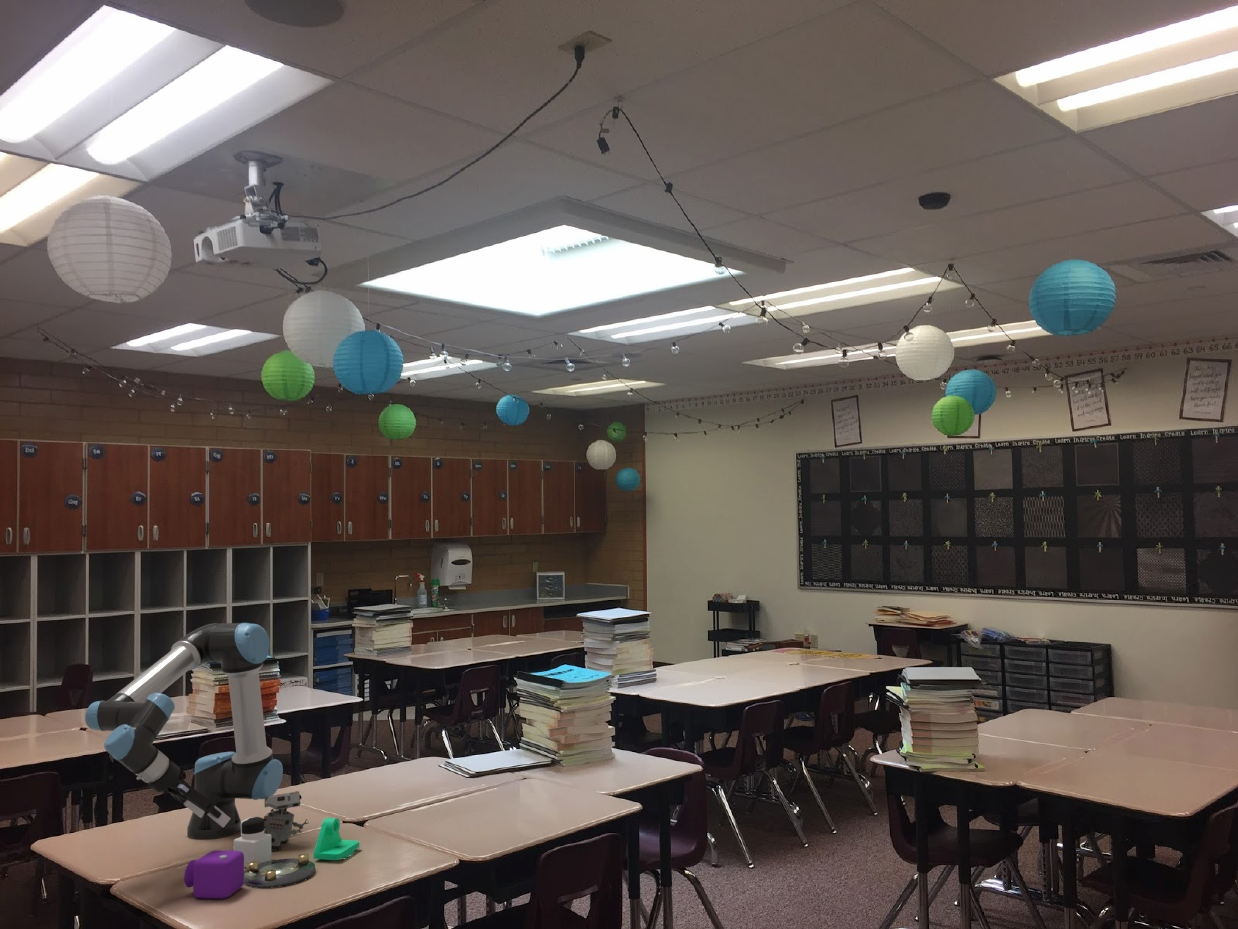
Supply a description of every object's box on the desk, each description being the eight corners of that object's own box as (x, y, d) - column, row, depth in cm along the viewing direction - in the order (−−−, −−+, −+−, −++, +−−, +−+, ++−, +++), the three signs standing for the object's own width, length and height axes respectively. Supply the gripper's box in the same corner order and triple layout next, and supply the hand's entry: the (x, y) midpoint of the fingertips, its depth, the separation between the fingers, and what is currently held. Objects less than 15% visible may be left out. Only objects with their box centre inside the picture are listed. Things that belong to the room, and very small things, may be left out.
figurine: (300, 850, 271) (300, 797, 273) (258, 852, 271) (259, 798, 272) (308, 840, 281) (308, 788, 282) (268, 842, 280) (269, 790, 281)
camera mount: (338, 864, 260) (338, 825, 261) (313, 862, 262) (313, 824, 263) (360, 850, 272) (360, 813, 272) (336, 848, 273) (336, 812, 274)
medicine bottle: (271, 860, 264) (272, 816, 265) (254, 869, 257) (254, 823, 258) (250, 858, 266) (251, 814, 267) (232, 866, 259) (233, 821, 260)
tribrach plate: (230, 877, 251) (230, 863, 251) (293, 859, 264) (293, 846, 264) (262, 893, 239) (263, 879, 239) (327, 874, 252) (327, 860, 252)
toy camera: (192, 887, 244) (192, 847, 245) (246, 884, 245) (247, 844, 246) (176, 903, 233) (176, 861, 234) (233, 900, 235) (234, 858, 235)
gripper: (128, 776, 251) (185, 821, 261) (167, 792, 234) (226, 840, 244) (149, 752, 256) (204, 798, 265) (189, 766, 239) (246, 814, 248)
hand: (215, 818), depth 255 cm, fingers open, 13 cm apart
